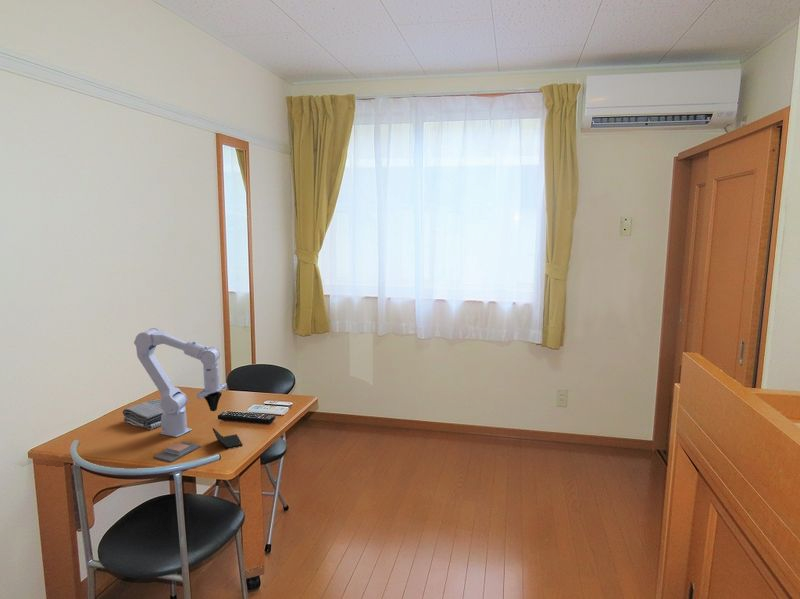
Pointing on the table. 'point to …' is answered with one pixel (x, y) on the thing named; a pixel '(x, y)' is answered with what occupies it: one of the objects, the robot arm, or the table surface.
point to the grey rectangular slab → (173, 457)
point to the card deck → (178, 448)
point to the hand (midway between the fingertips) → (213, 410)
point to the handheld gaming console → (228, 440)
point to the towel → (145, 414)
